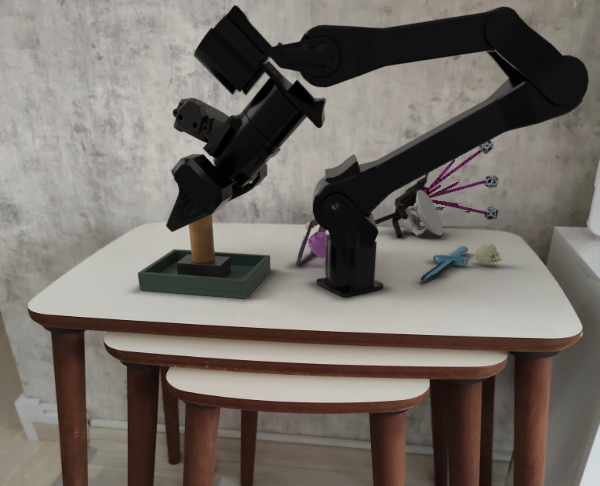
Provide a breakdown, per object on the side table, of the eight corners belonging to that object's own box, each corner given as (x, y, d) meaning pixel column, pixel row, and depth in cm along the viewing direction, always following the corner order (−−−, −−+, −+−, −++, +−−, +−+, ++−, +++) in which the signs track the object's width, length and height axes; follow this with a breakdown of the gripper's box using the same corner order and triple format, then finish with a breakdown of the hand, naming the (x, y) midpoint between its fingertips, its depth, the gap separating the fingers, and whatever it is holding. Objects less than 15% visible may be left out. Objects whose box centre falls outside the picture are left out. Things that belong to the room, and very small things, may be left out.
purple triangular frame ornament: (327, 206, 89) (305, 219, 82) (358, 220, 88) (339, 235, 81) (312, 247, 93) (290, 263, 86) (342, 261, 92) (323, 279, 85)
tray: (270, 271, 84) (270, 255, 83) (246, 299, 74) (245, 280, 73) (175, 264, 87) (173, 248, 85) (139, 290, 77) (137, 272, 76)
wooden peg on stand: (231, 271, 81) (226, 186, 76) (221, 280, 78) (215, 192, 72) (189, 268, 82) (181, 184, 77) (177, 277, 79) (168, 190, 74)
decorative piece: (344, 265, 106) (449, 209, 120) (404, 275, 96) (511, 213, 110) (328, 180, 98) (443, 131, 113) (393, 182, 88) (509, 128, 103)
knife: (403, 284, 79) (439, 289, 77) (403, 275, 79) (440, 279, 76) (448, 251, 92) (481, 254, 89) (448, 243, 91) (481, 246, 89)
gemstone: (469, 260, 87) (472, 240, 86) (497, 261, 87) (501, 240, 85) (472, 267, 84) (475, 246, 83) (502, 267, 84) (505, 246, 83)
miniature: (426, 188, 101) (401, 202, 104) (412, 191, 95) (386, 207, 97) (447, 231, 102) (422, 245, 105) (435, 238, 96) (409, 252, 98)
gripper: (239, 69, 76) (168, 160, 83) (179, 72, 60) (98, 185, 68) (301, 138, 78) (226, 221, 86) (259, 159, 62) (171, 258, 70)
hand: (184, 220), depth 77 cm, fingers open, 9 cm apart
